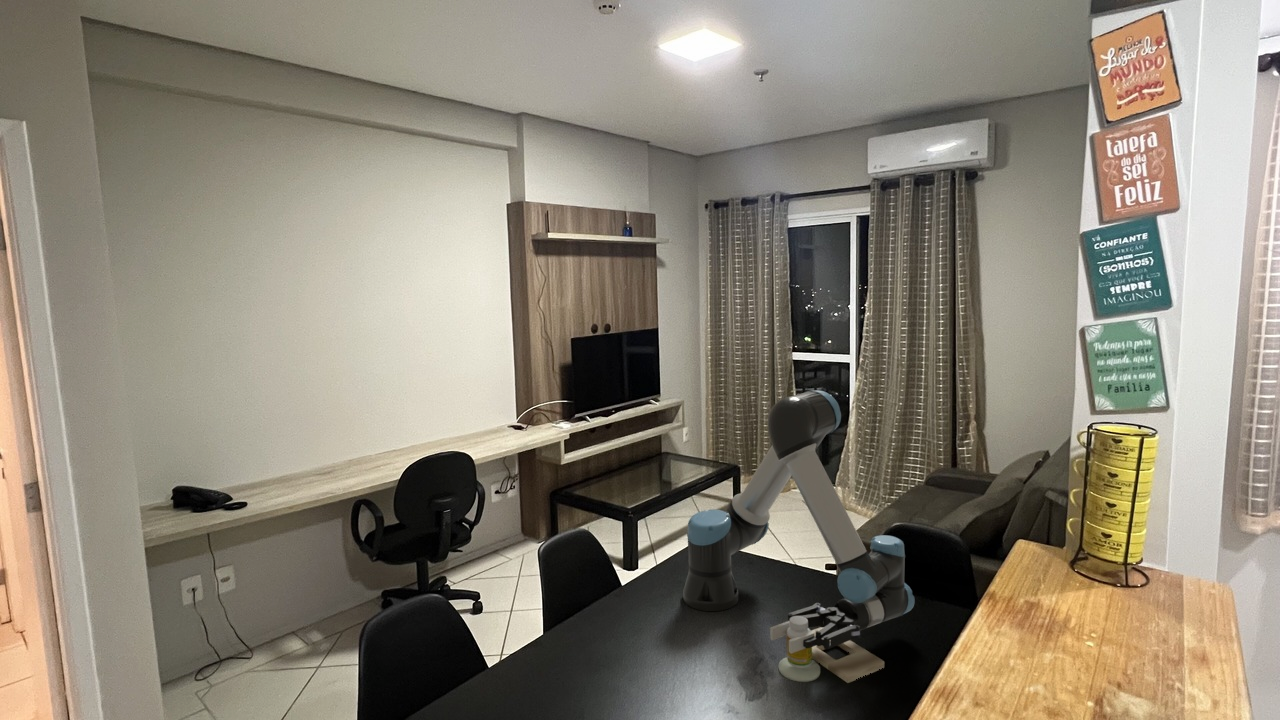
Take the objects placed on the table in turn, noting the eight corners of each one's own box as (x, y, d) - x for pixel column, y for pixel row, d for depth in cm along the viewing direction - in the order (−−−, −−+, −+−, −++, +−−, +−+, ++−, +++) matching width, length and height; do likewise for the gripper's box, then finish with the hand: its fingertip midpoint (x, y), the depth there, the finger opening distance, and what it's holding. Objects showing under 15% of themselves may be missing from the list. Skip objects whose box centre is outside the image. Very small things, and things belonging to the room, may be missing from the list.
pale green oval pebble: (770, 665, 145) (770, 663, 144) (800, 654, 149) (800, 651, 149) (797, 686, 137) (797, 684, 137) (829, 673, 141) (829, 671, 141)
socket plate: (791, 643, 153) (791, 637, 153) (825, 631, 158) (825, 625, 158) (847, 683, 137) (847, 676, 137) (884, 667, 142) (884, 661, 142)
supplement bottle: (813, 669, 139) (812, 626, 138) (787, 667, 140) (786, 625, 139) (811, 655, 144) (810, 614, 144) (786, 654, 146) (785, 613, 145)
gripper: (890, 645, 142) (810, 678, 132) (829, 611, 158) (754, 637, 148) (890, 613, 141) (809, 643, 131) (829, 581, 158) (753, 606, 147)
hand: (780, 640), depth 139 cm, fingers closed on supplement bottle, 5 cm apart
